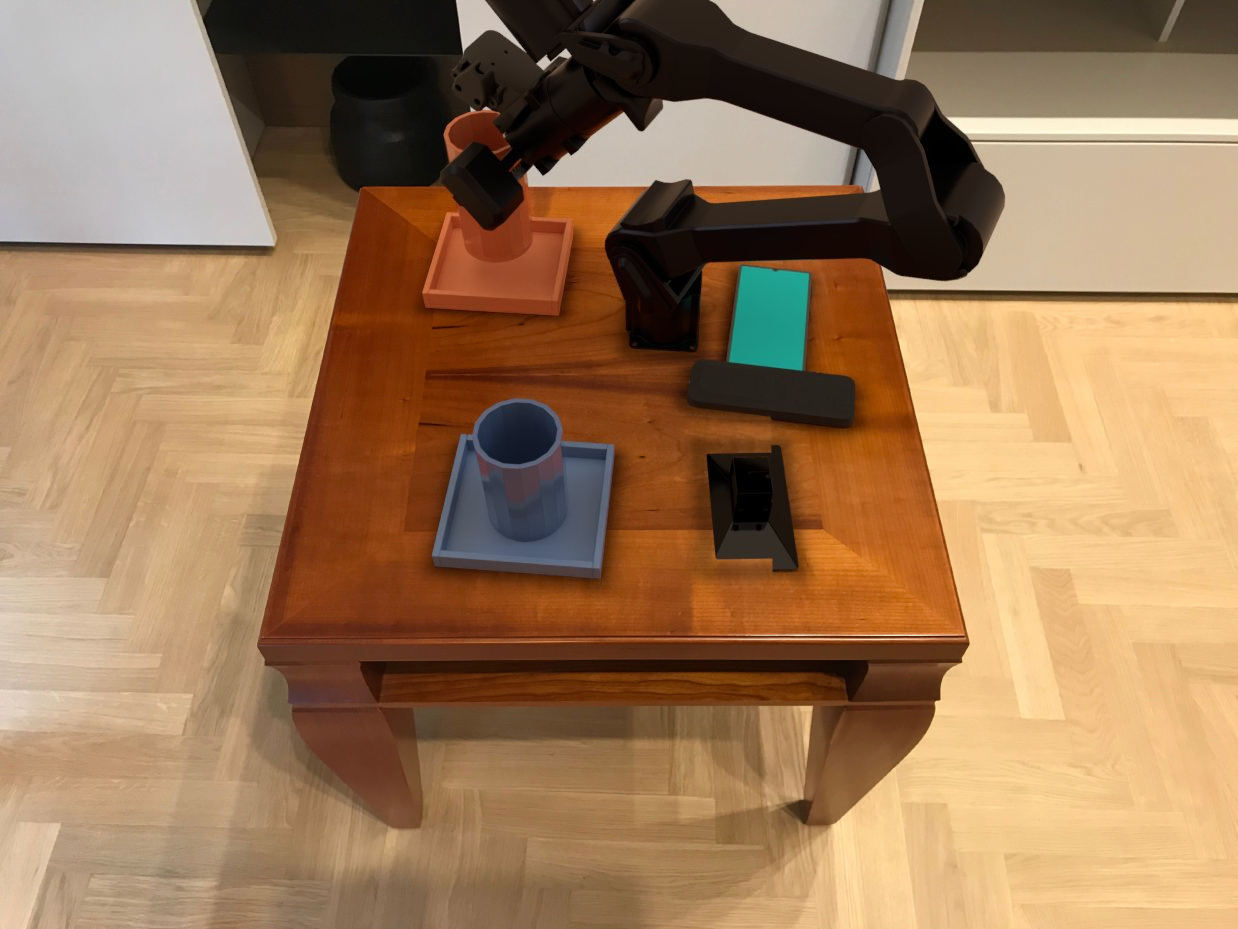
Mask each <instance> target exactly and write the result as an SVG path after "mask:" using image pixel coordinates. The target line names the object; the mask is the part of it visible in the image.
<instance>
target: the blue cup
mask: <svg viewBox="0 0 1238 929" xmlns="http://www.w3.org/2000/svg"><path fill="white" fill-rule="evenodd" d="M471 435H472V440H473V444H474V449H475V454H476V459H477V464H478V468H479V473H480V478H481V483H482V488H483V493H484V497H485V502H486V507H487V511H488V515H489V519H490V521H491V523H492V525H493V527H494V528H495V529H496V530H497V531H498V532H499V533H500V534H502V535H503V536H505V537H507V538H509V539H512V540H516V541H522V542H529V541H536V540H540V539H543V538H545V537H548V536H549V535H551V534H553V533H554V532H555V531H556V530H557V529H558V528H559V527H560V526H561V525H562V524H563V522H564V520H565V519H566V516H567V513H568V501H569V499H568V487H567V475H566V463H565V451H564V441H565V439H564V428H563V426H562V423H561V420H560V417H559V415H558V414H557V413H556V412H555V411H554V410H553V409H552V408H551V407H550V406H549V405H548V404H546V403H542V402H540V401H537V400H535V399H532V398H519V397H518V398H516V397H515V398H510V399H507V400H502V401H498V402H496V403H495V404H493V405H492V406H490V407H489V408H486V409H485V410H484V411H483V412H482V413H481V414H480V416H479V417H478V418H477V420H476V421H475V422H474V426H473V430H472V434H471Z"/></svg>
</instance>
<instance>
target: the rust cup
mask: <svg viewBox="0 0 1238 929" xmlns="http://www.w3.org/2000/svg"><path fill="white" fill-rule="evenodd" d="M499 114H500V113H499V112H494V111H492V110H490V109H483V110H482V111H475V110H474V111H473V110H472V111H468V112H466V113H463V114H461V115H459V116H457V117H455V118H454V119H453V120H451V121H450V122H449V123H447V125H446V127H445V129H444V133H443V138H444V145H445V150H446V155H447V161H448V164H449V163H450V162H451V161H452V160H453V159H454V158H455V157H456V156H457V155H458V154H459V153H460V152H462V151H463V150H464V149H465V148H466V147H467V146H468V145H469V144H470V143H472V142H473V141H475V142H478V143H482V144H485V145H487V146H488V147H489V148H490V149H491V151H492V152H493V153H494V154H495V155H496V156H497V158H498V159H499V160H500V159H501V158H502V157H503V156H504V155H505V154H506V153H507V152H508V151H509V150H510V149H511V147H510V145H509V143H507V141H506V140H505V139H504V138H503V134H504V133H503V134H502V133H501V132H500V131H499V130H498V129H497V128H496V127H495V125H494V124H493V123H492V121H493V120H494V119H495V118H496V117H497V116H498V115H499ZM520 161H521V159H519V160H518V161H517V162H516V163H515V165H514V166H513V167H512V168H511V169H510V170H509V172H510V171H512V169H513V168H515V166H516V165H517V164H518V163H519V162H520ZM519 183H520V184H521V186H522V187H523V192H524V201H523V202H522V203H521V204H520V206H519V207H518V208H517V209H516V210H515V211H514V212H513V213H512V214H511V216H510V217H509V218H508V219H507V220H506V221H505V222H504V223H503V224H502V225H500V226H499V227H497V228H496V229H495V230H493V231H488V230H484V229H483V228H482V227H481V226H480V225H479V224H478V223H477V221H476V220H475V219H474V218H473V217H472V216H471V215H470V214H469V213H468V211H467V210H466V209H465V208H464V207H462V206H460V205H458V203H457V202H456V201H455V204H456V205H455V206H456V211H457V213H458V216H459V222H460V227H461V233H462V238H463V241H464V246H465V249H466V250H467V252H468V253H469V254H470V255H471V256H473V257H474V258H476V259H478V260H481V261H485V262H491V263H500V262H507V261H511V260H513V259H516V258H518V257H520V256H522V255H523V254H524V253H526V252H527V251H528V249H529V248H530V247H531V245H532V242H533V225H532V217H533V216H532V209H531V208H532V206H531V198H530V188H529V180H528V172H527V173H526V174H525V175H524V176H523V177H522V178H521V179H520V180H519Z"/></svg>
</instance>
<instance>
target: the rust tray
mask: <svg viewBox="0 0 1238 929" xmlns="http://www.w3.org/2000/svg"><path fill="white" fill-rule="evenodd" d="M532 225H533V242H532V245H531V247H530V248H529V249H528V251H527V252H526V253H524V254H523V255H522V256H520V257H518V258H516V259H513V260H511V261H507V262H500V263H491V262H485V261H481V260H478V259H476V258H474V257H473V256H471V255H470V254H469V253H468V252H467V250H466V249H465V246H464V241H463V238H462V233H461V227H460V222H459V216H458V212H453V211H452V212H451V211H449V212H448V211H447V212H446V214H445V217H444V220H443V224H442V227H441V230H440V234H439V237H438V240H437V243H436V247H435V250H434V253H433V256H432V260H431V263H430V266H429V269H428V273H427V276H426V280H425V282H424V286H423V288H422V292H421V294H422V299H423V302H424V306H425V309H440V310H453V311H454V310H457V311H473V312H489V313H503V314H504V313H506V314H508V313H509V314H520V315H521V314H524V315H538V316H539V315H540V316H556V317H558V316H560V312H561V306H562V300H563V294H564V289H565V283H566V279H567V272H568V266H569V261H570V256H571V250H572V244H573V239H574V221H573V218H564V217H563V218H562V217H547V216H544V217H543V216H532Z"/></svg>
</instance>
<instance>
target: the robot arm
mask: <svg viewBox="0 0 1238 929" xmlns="http://www.w3.org/2000/svg"><path fill="white" fill-rule="evenodd" d="M484 2H486V4H487V5H488V6H489V8H491V10H492V11H493V13H494V14H495V15H496V16H497V18H498V19H499V20H500V21H501V22H502V25H504V26H505V28H507V29H506V30H508V31H509V33H510V34H511V35H512V36H513V38H514V39H515V40H516V42H517V43H518V44H519V46H518V45H517V44H515V43H514V42H513V41H511V40H510V39H509V38H507V37H506V36H505V35H503V34H502V33H501V32H499V31H497V30H495V29H488V30H485V31H484V32H483V33H481V34H480V35H479V36H478V37H477V38H476V39H475V40H474V41H473V42H471V43H470V44H469V45H468V46H467V47H466V48H464V50H463V53H462V57H461V59H460V60H459V61H458V63H457V65H455V67H454V68H452V69H451V71H450V72H449V73H450V78H451V79H452V80H453V83H452V92H453V94H454V96H455V97H456V98H457V99H459V100H460V101H462V102H463V103H464V104H465V105H467V106H468V107H470V108H471V109H472V110H474V111H482V110H485V108H487V109H488V110H492V111H494V112H499V113H500V114H499V115H498V116H497V117H496V118H495V119H494V120H493V121H492V123H493V124H494V125H495V127H496V128H497V129H498V130H499V131H500V132H501V133H502V134H503V133H504V134H503V138H504V139H505V140H506V141H507V143H509V145H510V147H511V149H510V150H509V151H508V152H507V153H506V154H505V155H504V156H503V157H502V158H501V159H500V160H499V159H498V158H497V156H496V155H495V154H494V153H493V152H492V151H491V149H490V148H489V147H488V146H487V145H485V144H482V143H478V142H475V141H473V142H472V143H470V144H469V145H468V146H467V147H466V148H465V149H464V150H463V151H462V152H460V153H459V154H458V155H457V156H456V157H455V158H454V159H453V160H452V161H451V162H450V163H449V162H448V164H447V165H446V166H445V167H444V168H443V169H441V171H440V172H439V174H440V175H439V176H440V182H441V184H442V185H443V187H445V189H446V190H448V192H449V193H450V194H451V195H452V199H453V200H454V201H455V203H456V202H457V203H458V205H460V206H462V207H464V208H465V209H466V210H467V211H468V213H469V214H470V215H471V216H472V217H473V218H474V219H475V220H476V221H477V223H478V224H479V225H480V226H481V227H482V228H483V229H484V230H488V231H493V230H495V229H496V228H497V227H499V226H500V225H502V224H503V223H504V222H505V221H506V220H507V219H508V218H509V217H510V216H511V214H512V213H513V212H514V211H515V210H516V209H517V208H518V207H519V206H520V204H521V203H522V202H523V201H524V192H523V187H522V186H521V184H520V183H519V180H520V179H521V178H522V177H523V176H524V175H525V174H526V173H527V174H528V172H529V171H530V170H531V169H532V167H534V168H535V169H536V170H537V171H538V172H539V173H540V175H541V176H542V177H544V176H545V175H547V174H548V173H549V172H551V171H552V170H553V168H554V167H555V166H556V165H557V164H558V163H559V162H560V160H562V158H564V157H565V156H566V155H567V154H569V156H571V157H572V156H573V155H575V154H576V153H577V152H579V150H580V149H582V147H583V146H584V145H585V144H586V143H587V142H588V141H589V139H590V138H591V137H593V135H595V134H597V133H598V132H599V131H600V130H602V129H603V128H605V126H607V125H609V124H610V123H611V122H613V121H614V120H615V119H617V118H619V117H620V115H623V113H624V114H625V115H626V117H627V118H628V120H629V121H630V123H631V124H632V125H633V126H634V128H635V129H636V130H637V131H639V132H644V131H645V130H646V129H647V128H648V127H649V126H650V125H651V124H652V122H653V121H654V120H655V119H656V117H658V115H659V114H661V112H662V111H663V110H664V101H667V102H671V103H679V102H680V103H681V102H688V101H696V100H713V101H718V102H723V103H727V104H730V105H732V106H735V107H737V108H740V109H744V110H747V111H748V112H749V111H750V112H752V113H755V114H758V115H761V116H763V117H767V118H770V119H771V120H772V119H773V120H774V121H777V122H782V123H784V124H787V125H790V126H792V127H796V128H798V129H801V130H804V131H807V132H810V133H811V134H812V133H813V134H815V135H818V136H820V137H823V138H827V139H829V140H833V141H836V142H838V143H841V144H844V145H846V146H850V147H852V148H855V149H859V150H861V151H863V152H864V154H865V155H866V157H867V159H868V161H869V162H870V164H871V166H872V167H873V169H874V172H875V174H876V179H877V182H878V187H879V189H877V190H874V191H870V192H869V191H868V192H856V193H841V194H828V195H813V196H798V197H785V198H770V199H769V198H768V199H756V200H754V199H753V200H741V201H725V202H709V201H708V200H706V199H705V198H703V197H701V196H699V194H697V193H695V188H694V184H693V180H691V179H688V178H685V179H681V180H678V181H672V182H666V181H665V182H664V181H661V180H657V179H655V180H654V181H653V182H652V183H651V185H650V186H649V187H648V188H646V189H645V190H643V191H642V192H641V193H640V195H639V196H638V197H637V198H636V199H635V200H634V201H633V203H632V204H631V205H630V206H629V208H628V209H627V210H626V211H625V213H624V214H623V215H622V216H621V218H619V220H618V221H617V222H616V224H615V225H614V226H613V227H612V228H611V230H609V232H608V233H607V235H606V237H605V240H604V251H605V254H606V257H607V259H608V261H609V265H610V267H611V269H612V272H613V275H614V278H615V280H616V282H617V285H618V288H619V291H620V293H621V296H622V299H623V300H624V302H625V303H624V304H625V305H624V306H625V317H624V318H625V319H624V320H625V322H624V323H625V325H624V326H625V331H626V332H628V333H629V339H628V346H629V348H631V349H633V350H647V351H648V350H650V351H662V352H663V351H664V352H681V353H696V352H698V350H699V338H700V320H701V319H700V318H701V302H702V301H701V300H702V287H703V285H702V284H703V269H704V268H705V266H706V265H707V264H712V263H713V264H714V263H747V262H750V263H751V262H752V263H753V262H783V261H785V262H786V261H787V262H788V261H790V262H791V261H821V260H822V261H823V260H824V261H825V260H855V259H856V260H859V259H862V260H870V261H872V262H874V263H876V264H877V265H879V266H881V267H882V268H884V269H886V270H887V271H890V272H891V273H893V274H894V275H896V276H899V277H903V278H904V277H905V278H913V279H919V280H927V281H934V282H951V281H958V280H961V279H964V278H966V277H968V274H970V273H971V272H972V271H973V270H975V269H976V267H978V266H979V264H980V262H981V260H982V258H983V255H984V253H985V251H986V249H987V246H988V244H989V242H990V239H991V238H992V235H993V234H994V231H995V229H996V226H997V225H998V222H999V220H1000V218H1001V216H1002V213H1003V212H1004V209H1005V207H1006V205H1005V204H1006V194H1005V190H1004V187H1003V185H1002V183H1001V182H1000V181H999V179H998V178H997V177H996V175H994V174H993V173H992V172H990V171H989V170H988V169H986V168H985V166H984V163H983V162H982V160H981V158H980V156H979V155H978V152H977V150H976V149H975V147H974V145H973V143H972V141H971V139H970V138H969V136H968V135H967V134H966V133H965V132H964V131H962V130H961V129H960V128H959V127H958V126H957V125H956V124H954V123H953V121H951V120H950V119H949V118H948V117H947V116H946V115H944V114H943V112H942V110H941V108H940V107H939V104H938V103H937V101H936V99H935V97H934V95H933V94H932V93H933V92H932V91H931V90H930V89H929V88H928V86H926V84H924V83H922V82H921V81H919V80H916V79H910V78H904V79H896V78H892V77H888V76H886V75H883V74H880V73H876V72H874V71H871V70H867V69H864V68H861V67H859V66H855V65H852V64H849V63H846V62H844V61H843V62H842V61H840V60H837V59H834V58H831V57H827V56H825V55H821V54H818V53H816V52H812V51H809V50H806V49H803V48H800V47H797V46H794V45H791V44H788V43H785V42H781V41H778V40H777V39H776V40H775V39H772V38H769V37H767V36H764V35H760V34H757V33H754V32H751V31H749V30H747V29H745V28H743V27H741V26H740V25H738V24H735V23H734V21H733V20H731V19H730V17H728V15H727V14H726V13H725V12H724V11H723V10H722V9H721V7H720V6H719V5H718V4H717V3H716V2H714V1H712V0H484ZM565 50H566V51H567V52H568V53H569V55H570V56H569V57H564V56H561V55H560V54H562V53H563V52H564V51H565ZM545 57H546V58H547V60H548V61H549V62H550V63H549V64H548V65H547V66H546V67H545V68H544V69H543V68H542V67H541V66H540V65H538V63H540V62H541V60H542V59H544V58H545ZM519 159H521V161H520V162H519V163H518V164H517V165H516V166H515V168H513V169H512V171H510V172H509V170H510V169H511V168H512V167H513V166H514V165H515V163H516V162H517V161H518V160H519ZM633 344H635V345H633ZM692 347H693V348H692Z"/></svg>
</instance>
